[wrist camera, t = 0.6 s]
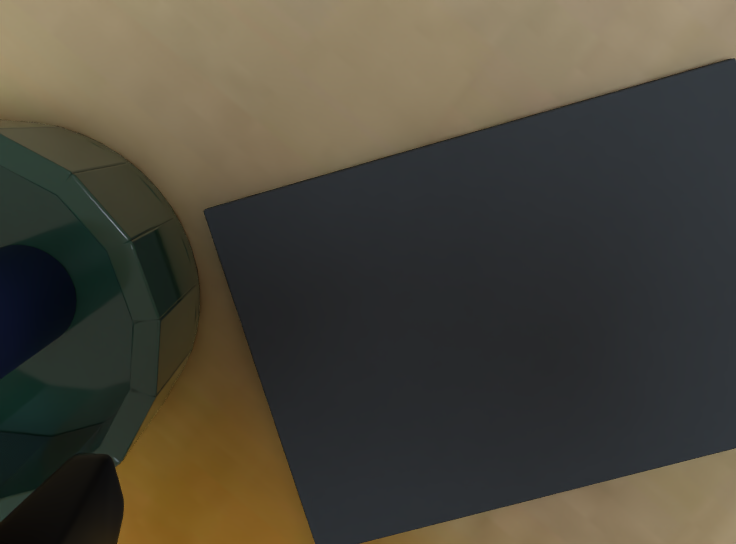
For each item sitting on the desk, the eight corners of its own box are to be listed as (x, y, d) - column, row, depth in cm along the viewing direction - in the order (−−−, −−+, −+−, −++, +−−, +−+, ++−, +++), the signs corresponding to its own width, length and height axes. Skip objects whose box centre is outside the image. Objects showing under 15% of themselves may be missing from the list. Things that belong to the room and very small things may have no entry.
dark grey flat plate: (789, 427, 23) (796, 433, 22) (319, 547, 24) (318, 554, 23) (728, 59, 20) (736, 57, 20) (205, 208, 21) (202, 210, 21)
